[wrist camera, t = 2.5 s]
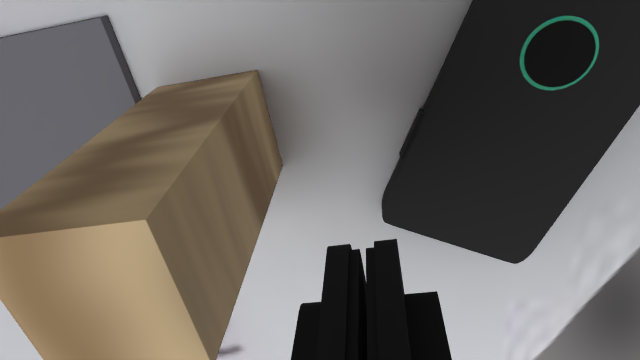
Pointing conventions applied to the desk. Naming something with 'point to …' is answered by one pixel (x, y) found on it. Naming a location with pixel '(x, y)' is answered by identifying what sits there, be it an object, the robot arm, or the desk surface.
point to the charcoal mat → (57, 97)
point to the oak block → (145, 228)
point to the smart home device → (516, 122)
